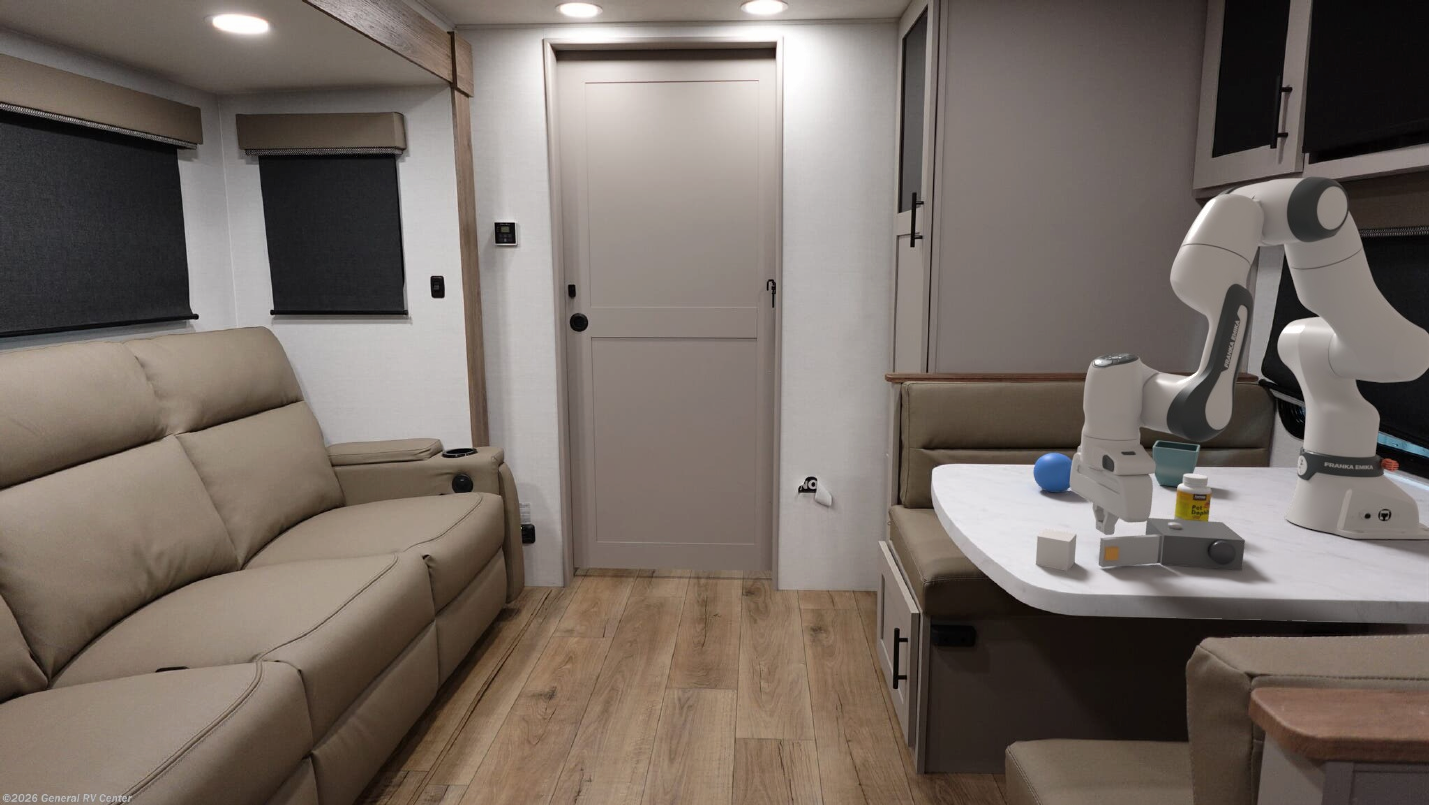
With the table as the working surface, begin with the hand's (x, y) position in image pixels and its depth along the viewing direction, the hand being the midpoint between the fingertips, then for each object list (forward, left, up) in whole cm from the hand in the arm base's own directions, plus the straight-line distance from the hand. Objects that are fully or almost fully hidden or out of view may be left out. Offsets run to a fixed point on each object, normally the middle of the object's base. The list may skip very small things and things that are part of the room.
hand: (1104, 532), depth 145 cm
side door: (-3, +5, -4) cm, 7 cm away
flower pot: (-26, -54, -4) cm, 61 cm away
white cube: (+9, +6, -4) cm, 11 cm away
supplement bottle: (-19, -19, -4) cm, 28 cm away
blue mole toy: (0, -43, -4) cm, 44 cm away
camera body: (-14, -2, -4) cm, 15 cm away
